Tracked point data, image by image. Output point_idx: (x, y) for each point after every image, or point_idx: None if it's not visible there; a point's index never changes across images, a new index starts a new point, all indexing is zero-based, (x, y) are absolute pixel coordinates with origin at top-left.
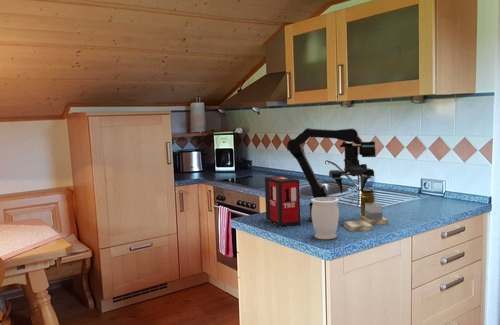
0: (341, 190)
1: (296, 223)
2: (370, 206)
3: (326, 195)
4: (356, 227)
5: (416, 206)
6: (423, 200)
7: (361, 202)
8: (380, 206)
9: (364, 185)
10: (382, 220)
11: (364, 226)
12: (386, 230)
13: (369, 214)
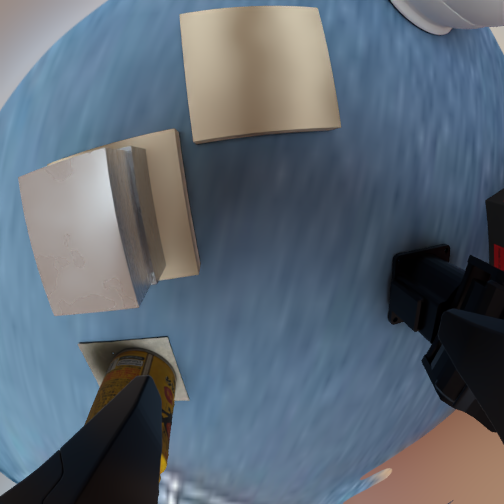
0: (479, 316)
1: (500, 196)
2: (109, 162)
3: (501, 315)
4: (282, 8)
5: (4, 427)
6: (12, 462)
7: (166, 425)
8: (31, 172)
9: (72, 443)
10: (76, 155)
11: (231, 9)
12: (110, 30)
13: (139, 173)
